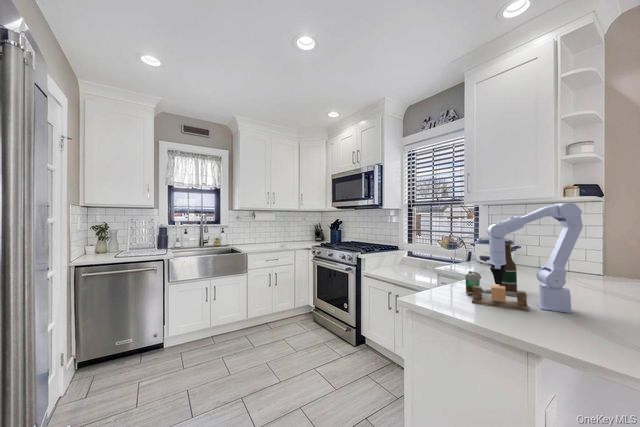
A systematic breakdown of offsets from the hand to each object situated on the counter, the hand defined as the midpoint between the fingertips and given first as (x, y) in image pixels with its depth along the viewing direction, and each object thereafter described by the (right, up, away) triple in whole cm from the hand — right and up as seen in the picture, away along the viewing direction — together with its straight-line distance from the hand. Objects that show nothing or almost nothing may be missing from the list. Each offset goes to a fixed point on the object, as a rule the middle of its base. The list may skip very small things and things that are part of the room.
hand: (498, 282), depth 113 cm
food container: (-1, -10, +16) cm, 19 cm away
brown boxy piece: (0, -10, 0) cm, 10 cm away
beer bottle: (+18, -10, +19) cm, 28 cm away
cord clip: (0, -8, 0) cm, 8 cm away
